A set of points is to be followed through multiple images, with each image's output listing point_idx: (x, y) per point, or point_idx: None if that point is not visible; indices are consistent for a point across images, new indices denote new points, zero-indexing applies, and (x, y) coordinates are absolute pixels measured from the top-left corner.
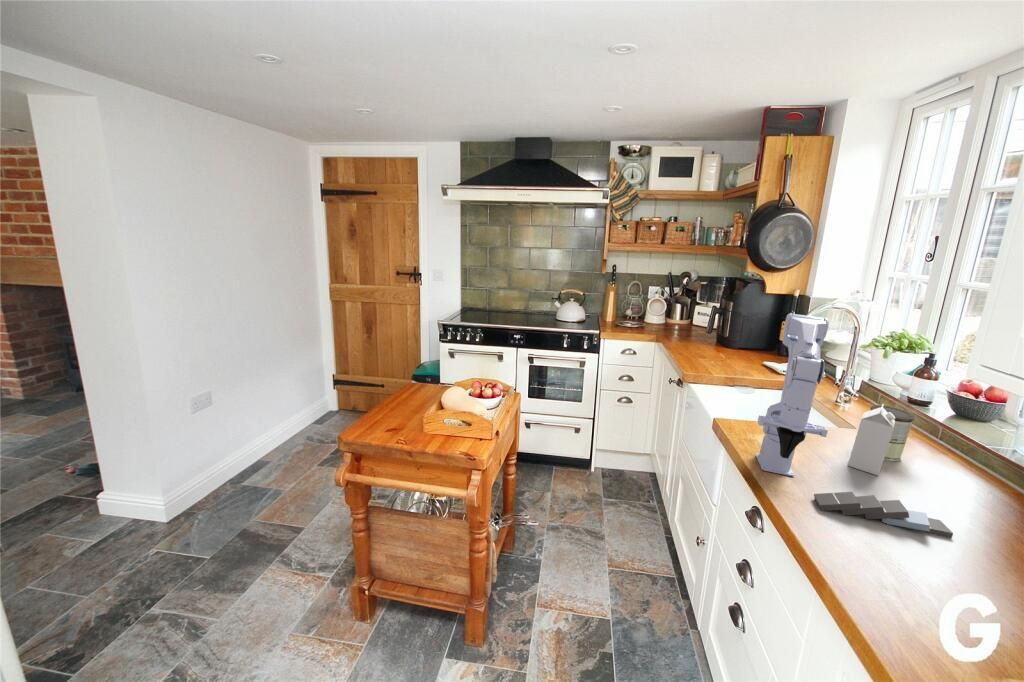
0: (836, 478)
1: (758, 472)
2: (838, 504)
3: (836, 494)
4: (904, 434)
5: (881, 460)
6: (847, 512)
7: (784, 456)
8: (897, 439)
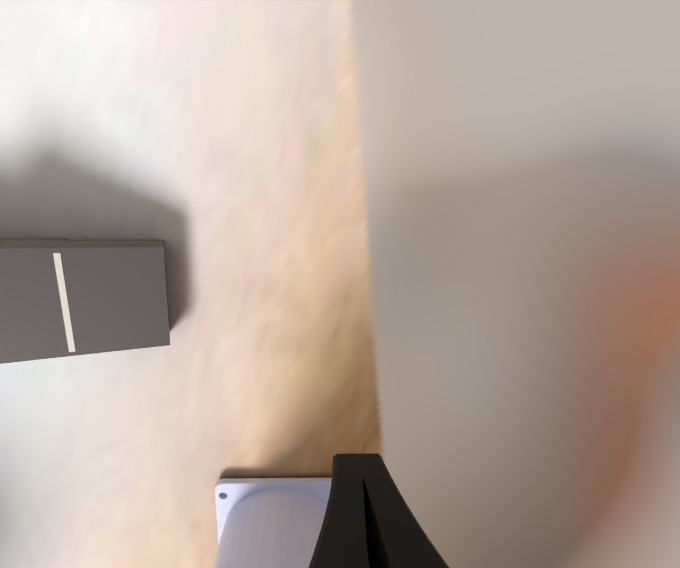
0: (38, 533)
1: None
2: (63, 247)
3: (55, 340)
4: None
5: None
6: None
7: (369, 462)
8: None
